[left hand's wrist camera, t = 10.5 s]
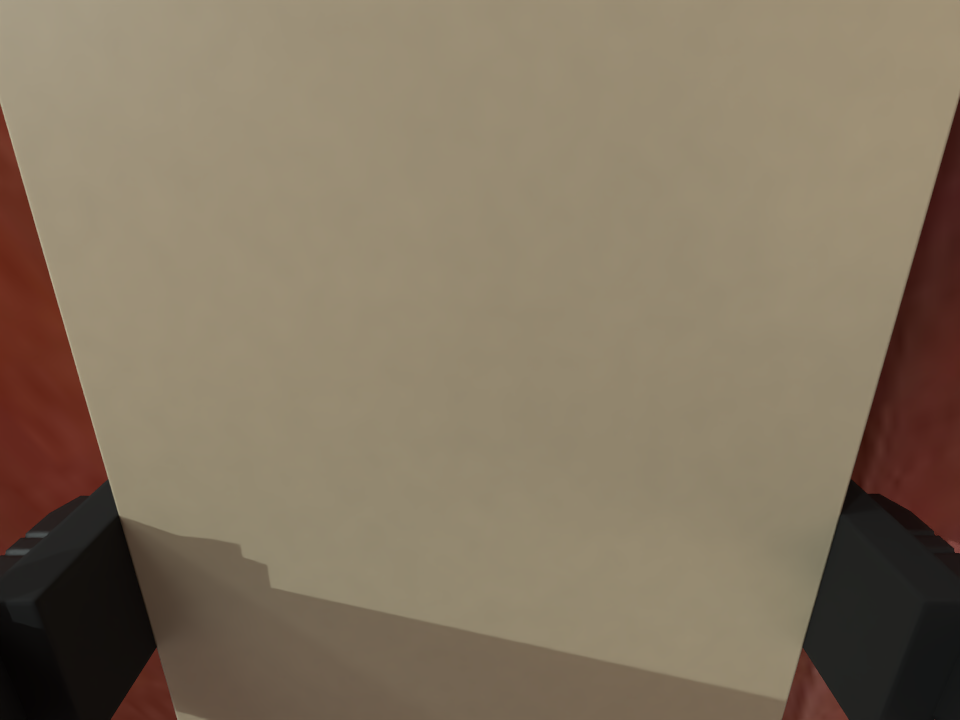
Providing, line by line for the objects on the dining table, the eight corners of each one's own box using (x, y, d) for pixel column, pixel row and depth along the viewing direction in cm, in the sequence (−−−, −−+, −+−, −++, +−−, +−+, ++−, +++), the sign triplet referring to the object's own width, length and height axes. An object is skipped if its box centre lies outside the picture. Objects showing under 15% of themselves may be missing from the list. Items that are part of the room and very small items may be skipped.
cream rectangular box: (218, -224, 12) (-312, -970, 4) (740, -224, 12) (1270, -974, 4) (310, 477, 18) (180, 733, 10) (649, 477, 18) (778, 734, 10)
